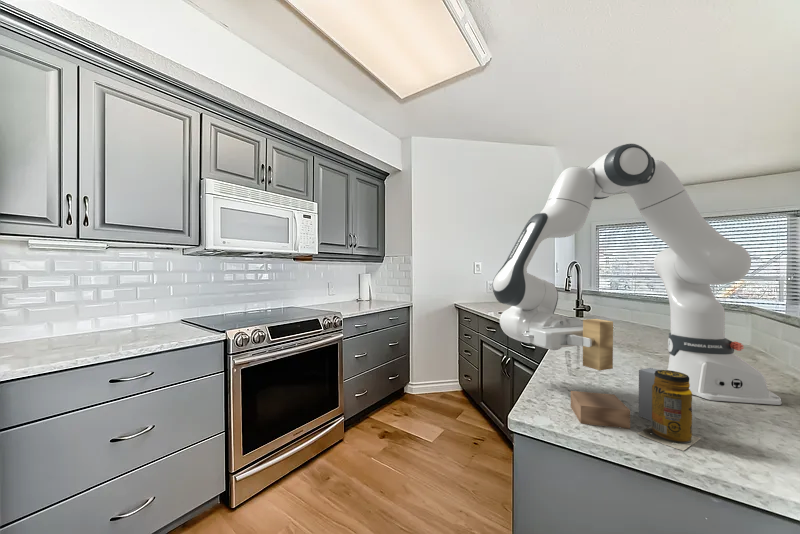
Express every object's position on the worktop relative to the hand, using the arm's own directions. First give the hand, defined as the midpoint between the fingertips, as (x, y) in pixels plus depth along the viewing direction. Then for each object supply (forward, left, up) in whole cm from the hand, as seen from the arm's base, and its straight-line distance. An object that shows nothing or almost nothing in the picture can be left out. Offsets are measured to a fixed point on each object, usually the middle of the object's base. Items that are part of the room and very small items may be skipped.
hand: (601, 342), depth 74 cm
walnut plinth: (+1, -1, -16) cm, 17 cm away
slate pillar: (-10, -5, -16) cm, 20 cm away
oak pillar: (+1, -1, -5) cm, 6 cm away
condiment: (-10, +4, -16) cm, 20 cm away
